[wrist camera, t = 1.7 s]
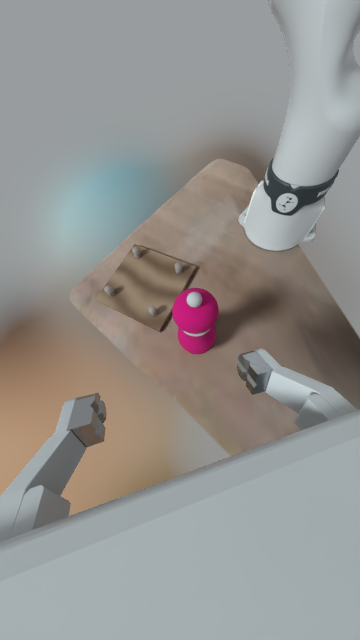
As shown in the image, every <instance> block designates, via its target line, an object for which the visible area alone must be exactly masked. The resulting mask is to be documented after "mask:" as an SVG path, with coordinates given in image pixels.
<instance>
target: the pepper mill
mask: <svg viewBox="0 0 360 640" xmlns="http://www.w3.org/2000/svg"><path fill="white" fill-rule="evenodd" d="M172 314H173V319H174V321H175V323H176V324H177V326H178V327H179V329H178V340H179V342H180V344H181V346H182V347H183V348H184V349H185V350H186V351H188V352H190V353H192V354H202V353H204V352H206V351H207V350H209V349H210V348H211V347H212V346H213V344H214V342H215V338H216V331H215V327H214V324H215V322H216V320H217V317H218V304H217V301H216V300H215V298H214V297H213V295H212V294H211V293H209V292H208V291H206V290H204V289H200V288H191V289H187V290H185V291H183V292H182V293H180V294H179V295H178V297H177V298H176V299H175V301H174V304H173V308H172Z"/></svg>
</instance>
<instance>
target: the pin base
mask: <svg viewBox="0 0 360 640" xmlns="http://www.w3.org/2000/svg"><path fill="white" fill-rule="evenodd" d="M195 270H196V266H194V265H191V264H188V263H185V262H183V261H180V260H177V259H174V258H172V257H169V256H166V255H163V254H161V253H158V252H155V251H152V250H150V249H147V248H144V247H141V246H139V245H136V244H135V245H134V246H133V248H132V249H131V250H130V252H129V253H128V255H127V256H126V257H125V259H124V260H123V262H122V263H121V264H120V266H119V267H118V269H117V270H116V271H115V273H114V274H113V276H112V277H111V278H110V280H109V281H108V283H107V284H106V285H105V287H104V288H103V290H102V291H101V292H100V294H99V295H98V297H97V298H96V300H97V301H98V302H100V303H102V304H104V305H106V306H108V307H110V308H112V309H114V310H116V311H118V312H120V313H122V314H124V315H127V316H129V317H131V318H133V319H135V320H137V321H139V322H141V323H143V324H145V325H147V326H149V327H151V328H153V329H155V330H157V331H159V332H161V330H162V329H163V327H164V325H165V323H166V321H167V320H168V318H169V316H170V314H171V313H172V308H173V304H174V301H175V299H176V298H177V297H178V295H179V294H180V293H182V292H183V291H184V290H185V288H186V286H187V284H188V283H189V281H190V279H191V277H192V275H193V274H194V272H195Z"/></svg>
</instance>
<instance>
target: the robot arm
mask: <svg viewBox="0 0 360 640" xmlns="http://www.w3.org/2000/svg"><path fill="white" fill-rule="evenodd" d="M268 1H269V5H270V9H271V11H272V14H273V15H274V17H275V19H276V21H277V23H278V24H279V27H280V29H281V32H282V34H283V37H284V40H285V44H286V47H287V53H288V58H289V67H290V95H289V103H288V108H287V113H286V117H285V121H284V125H283V129H282V133H281V137H280V140H279V143H278V147H277V150H276V153H275V157H274V158H273V159H272V160H271V162H270V165H269V167H268V169H267V172H266V175H265V179H264V181H263V180H262V181H261V182H260V184H259V186H258V187H256V189H255V191H254V193H253V195H252V198H251V202H250V205H249V206H248V207H247V208H246V209H245V210H244V211H243V213H242V214H241V215H240V216H239V219H238V221H239V223H240V224H241V225H242V226H243V227H244V229H245V232H246V235H247V236H248V238H249V239H250V240H251V241H252V242H253V243H254V244H255V245H257V246H259V247H261V248H264V249H267V250H273V251H281V250H286V249H290V248H292V247H294V246H296V245H298V244H300V243H307V242H311V241H312V240H313V239H314V237H315V230H316V222H317V220H318V219H319V217H320V216H321V214H322V212H323V211H324V209H325V206H324V204H325V198H324V196H325V194H326V193H327V191H328V190H329V189H330V188H331V186H332V184H333V183H334V180H335V178H336V177H337V175H338V172H339V168H340V166H341V164H342V163H343V161H344V160H345V158H346V157H347V155H348V153H349V152H350V150H351V149H352V147H353V146H354V144H355V143H356V141H357V140H358V138H359V136H360V67H359V65H358V64H357V62H356V60H355V58H354V54H353V43H354V40H355V38H356V35H357V34H358V33H359V31H360V0H268ZM238 360H239V363H238V364H237V372H238V374H239V376H240V378H241V379H242V380H244V381H246V387H247V388H248V390H249V391H250V393H251V394H252V395H254V394H257V393H261V392H265V391H266V393H268V394H269V395H271V396H272V397H274V398H275V399H277V400H278V401H280V402H281V403H283V404H284V405H286V406H287V407H289V408H290V409H292V410H294V411H295V412H297V413H298V416H297V418H296V419H295V424H296V425H297V427H298V428H299V429H300V430H301V431H298V432H296V433H293V434H290V435H288V436H285V437H282V438H279V439H277V440H274V441H271V442H269V443H266V444H263V445H261V446H258V447H255V448H252V449H250V450H247V451H244V452H242V453H239V454H236V455H234V456H231V457H228V458H225V459H223V460H220V461H217V462H215V463H212V464H210V465H207V466H204V467H201V468H198V469H196V470H193V471H190V472H188V473H185V474H182V475H179V476H177V477H174V478H172V479H169V480H166V481H163V482H161V483H158V484H155V485H152V486H150V487H147V488H144V489H142V490H139V491H136V492H134V493H131V494H128V495H126V496H123V497H120V498H118V499H115V500H112V501H109V502H107V503H104V504H101V505H98V506H96V507H93V508H91V509H88V510H85V511H82V512H79V513H77V514H74V515H71V516H69V510H70V502H69V501H68V500H66V499H64V498H62V497H61V496H60V495H61V493H62V492H63V490H64V488H65V486H66V484H67V482H68V481H69V479H70V477H71V475H72V474H73V472H74V470H75V468H76V467H77V465H78V463H79V461H80V459H81V458H82V456H83V454H84V452H85V450H86V447H89V446H92V445H94V444H98V443H101V442H103V441H104V436H105V427H104V425H103V423H104V421H105V420H106V407H105V404H104V402H103V401H101V400H100V395H99V394H98V393H95V394H91V395H87V396H83V397H79V398H74V399H71V400H67V401H66V402H65V403H64V405H63V408H62V411H61V415H60V418H59V421H58V425H57V428H56V431H55V434H54V435H52V436H50V438H49V439H48V440H47V441H46V442H45V444H44V445H43V446H42V447H41V448H40V449H39V451H38V452H37V453H36V454H35V456H34V457H33V458H32V459H31V460H30V461H29V463H28V464H27V465H26V466H25V468H24V469H23V470H22V471H21V472H20V473H19V475H18V476H17V477H16V478H15V479H14V481H13V482H12V483H11V484H10V485H9V486H8V488H7V489H6V490H5V491H4V493H3V494H2V495H1V496H0V640H360V409H358V410H357V409H356V408H355V407H354V406H353V405H351V404H350V403H349V402H348V401H347V400H346V399H345V398H344V397H342V396H341V395H340V394H339V393H338V392H337V391H336V390H334V389H333V388H332V387H330V386H328V385H325V384H323V383H321V382H318V381H316V380H314V379H311V378H309V377H307V376H304V375H302V374H300V373H297V372H295V371H293V370H290V369H288V368H285V367H283V368H282V367H281V366H280V365H279V364H278V363H277V362H276V361H275V360H274V359H273V358H272V357H271V356H270V355H269V354H268V353H267V352H266V351H265V350H264V349H258V350H255V351H250V352H247V353H243V354H240V355H239V356H238ZM68 516H69V517H68Z"/></svg>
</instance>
